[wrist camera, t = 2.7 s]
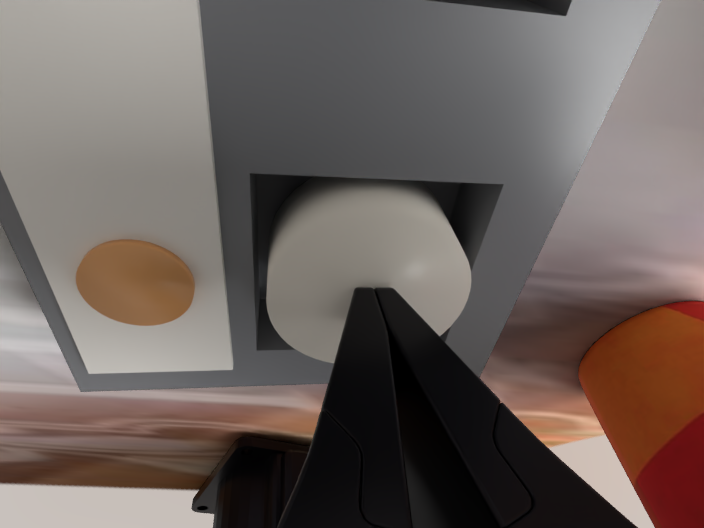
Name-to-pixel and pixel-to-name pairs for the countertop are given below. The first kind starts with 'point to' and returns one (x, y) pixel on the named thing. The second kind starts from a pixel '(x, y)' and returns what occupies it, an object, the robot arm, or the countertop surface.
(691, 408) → the coffee cup
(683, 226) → the countertop surface
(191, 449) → the countertop surface
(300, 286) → the button
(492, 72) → the button board
